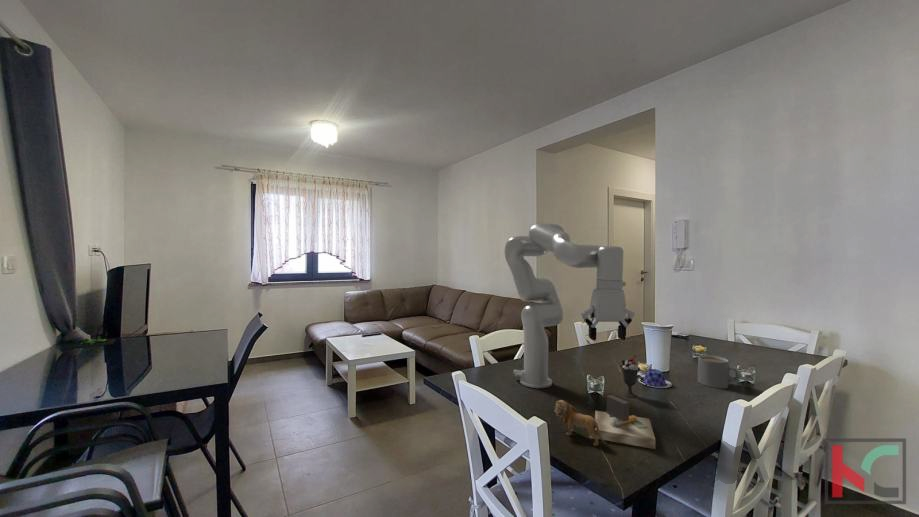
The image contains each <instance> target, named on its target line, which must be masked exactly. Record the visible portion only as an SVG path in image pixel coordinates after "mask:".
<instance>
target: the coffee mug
mask: <svg viewBox="0 0 919 517" xmlns="http://www.w3.org/2000/svg"><path fill="white" fill-rule="evenodd" d="M729 361H730V360H728V359H727V358H725V357H722V356H717V355H709V354H708V355H707V354H705V355H704V354H702V355H701V354H700V355H698V356H697V383H699V384H700V383H701V384H700V385H702V384H703V385H702V386H704V385H706V386H705V387H708V386H709V387H708V388H714V389H728V388H729V384H730V383H734V382H737V381H739V380H740V379H741V371H740V369H739V368H738V367H737V366H735V365H732V364H730V362H729ZM731 370H733V371H734V372H735V376H734V377H732V376H730V371H731Z"/></svg>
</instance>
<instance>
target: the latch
mask: <svg viewBox="0 0 919 517" xmlns="http://www.w3.org/2000/svg"><path fill="white" fill-rule="evenodd" d="M606 412H607V414H609V415H611V416H613V424H614V425H616V426H621V425H622V424H625V423H628V422H632V421H635V420H637V417H638V416H636V415H635V414H632V415H630V402H628V401H626V400H624V399H622V398H620V397H618V396H615V395H613V394H610V395H606Z"/></svg>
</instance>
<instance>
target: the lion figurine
mask: <svg viewBox="0 0 919 517" xmlns="http://www.w3.org/2000/svg"><path fill="white" fill-rule="evenodd" d="M554 413H555V415H556V416H557V417H559V418H560V419H561V421H562V422H563V423H565V424H566V426H567V430H568V431H567V432H566V433H565V434H566V435H567V436H568V437H569V436H572V434H573V432H574V429H575V426H577V427H579V428H586V430H587V433H588V434H589V436H588V438H589V439H590V440H594V441H593V442H592V443H593V445H592V446H594V447H598V446H599V440H600V442H602V443H603V444H606V445H607V444H608V441H606V440H603V439H602V438H601V435H600V431H599V427H598V425H597V422H596V420H595V417H593V416H591V415H587V414H583V413H580V412H579V411H577V409H576V408H575V407H574V406H573V405H571V404H570V403H569V402H567V401H566V400H563V399H559V400H556V401H555V409H554ZM595 428H596V429H597V432H598V435H599V438H600V439H598V438H597V436H596V435H595Z"/></svg>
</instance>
